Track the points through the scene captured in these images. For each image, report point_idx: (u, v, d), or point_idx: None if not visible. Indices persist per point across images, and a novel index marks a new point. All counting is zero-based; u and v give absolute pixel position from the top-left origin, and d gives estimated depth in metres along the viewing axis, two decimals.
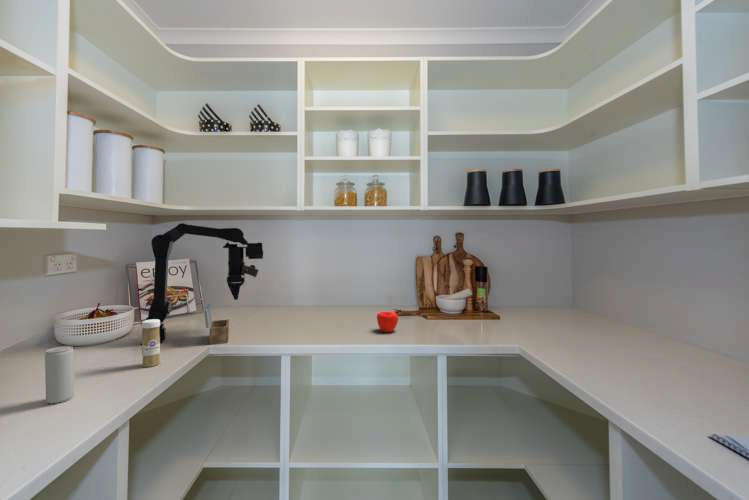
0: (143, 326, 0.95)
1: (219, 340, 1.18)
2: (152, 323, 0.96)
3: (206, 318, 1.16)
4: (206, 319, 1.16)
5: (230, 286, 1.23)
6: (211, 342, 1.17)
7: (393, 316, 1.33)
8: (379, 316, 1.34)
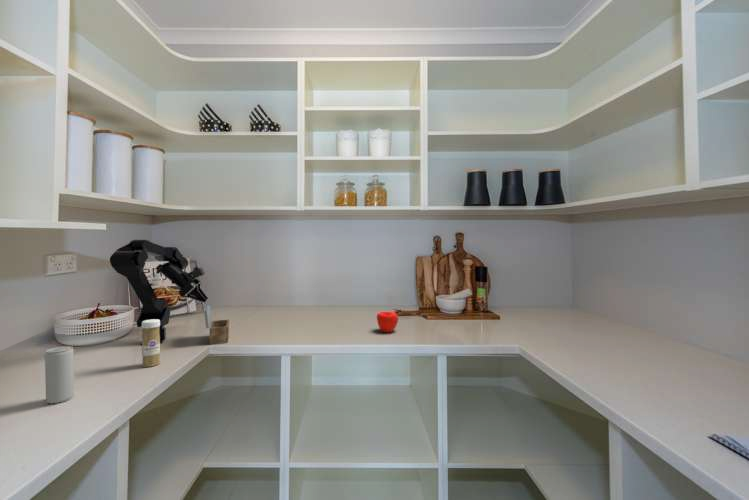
0: (143, 326, 0.95)
1: (219, 340, 1.18)
2: (152, 323, 0.96)
3: (206, 318, 1.16)
4: (206, 319, 1.16)
5: (190, 296, 1.30)
6: (211, 342, 1.17)
7: (393, 316, 1.33)
8: (379, 316, 1.34)
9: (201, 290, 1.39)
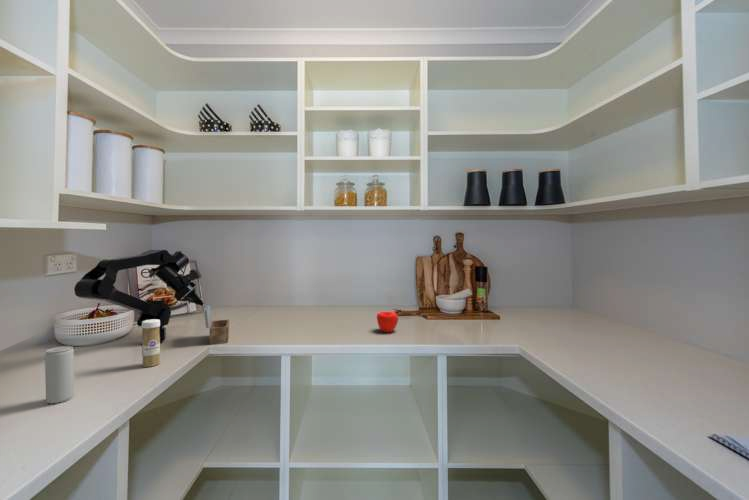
0: (143, 326, 0.95)
1: (219, 340, 1.18)
2: (152, 323, 0.96)
3: (206, 318, 1.16)
4: (206, 319, 1.16)
5: (187, 299, 1.26)
6: (211, 342, 1.17)
7: (393, 316, 1.33)
8: (379, 316, 1.34)
9: (197, 295, 1.29)
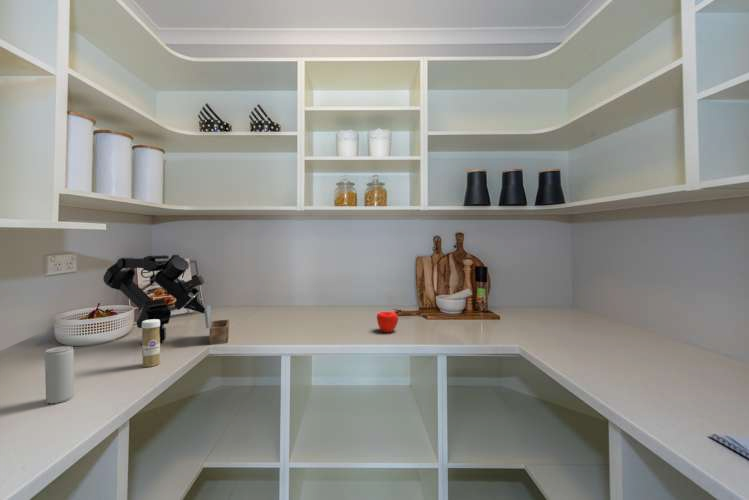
0: (143, 326, 0.95)
1: (219, 340, 1.18)
2: (152, 323, 0.96)
3: (206, 318, 1.16)
4: (206, 319, 1.16)
5: (189, 307, 1.17)
6: (211, 342, 1.17)
7: (393, 316, 1.33)
8: (379, 316, 1.34)
9: (199, 302, 1.21)
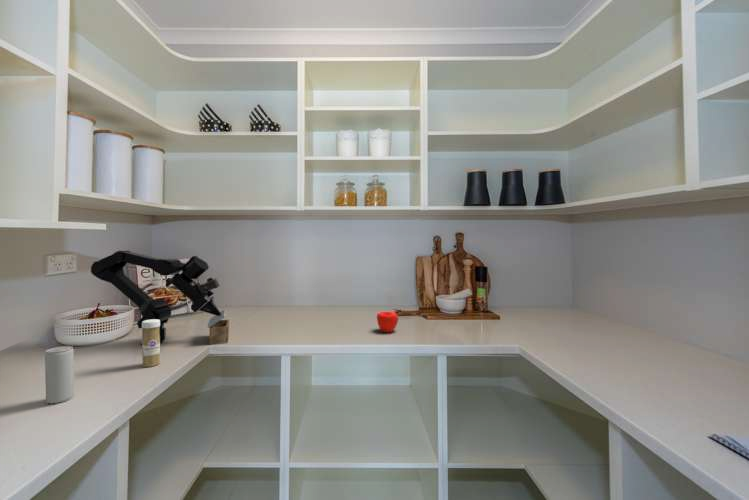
0: (143, 326, 0.95)
1: (219, 340, 1.18)
2: (152, 323, 0.96)
3: (217, 321, 1.17)
4: (216, 321, 1.17)
5: (204, 310, 1.19)
6: (211, 342, 1.17)
7: (393, 316, 1.33)
8: (379, 316, 1.34)
9: (214, 305, 1.23)
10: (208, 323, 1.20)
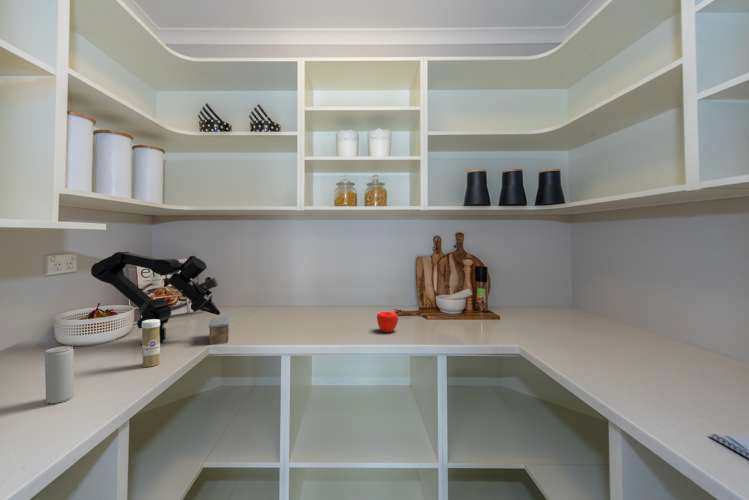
0: (143, 326, 0.95)
1: (219, 340, 1.18)
2: (152, 323, 0.96)
3: (219, 325, 1.18)
4: (218, 325, 1.17)
5: (203, 309, 1.19)
6: (211, 342, 1.17)
7: (393, 316, 1.33)
8: (379, 316, 1.34)
9: (213, 304, 1.23)
10: (209, 323, 1.20)
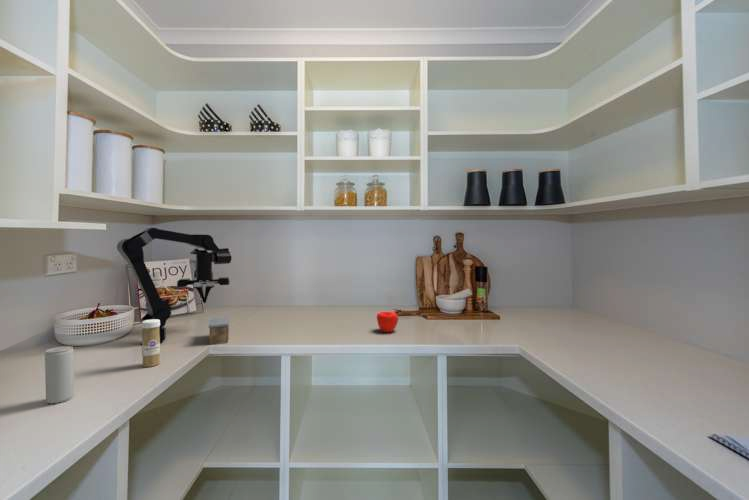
0: (143, 326, 0.95)
1: (219, 340, 1.18)
2: (152, 323, 0.96)
3: (219, 325, 1.18)
4: (218, 325, 1.17)
5: (209, 289, 1.32)
6: (211, 342, 1.17)
7: (393, 316, 1.33)
8: (379, 316, 1.34)
9: None
10: (209, 323, 1.20)
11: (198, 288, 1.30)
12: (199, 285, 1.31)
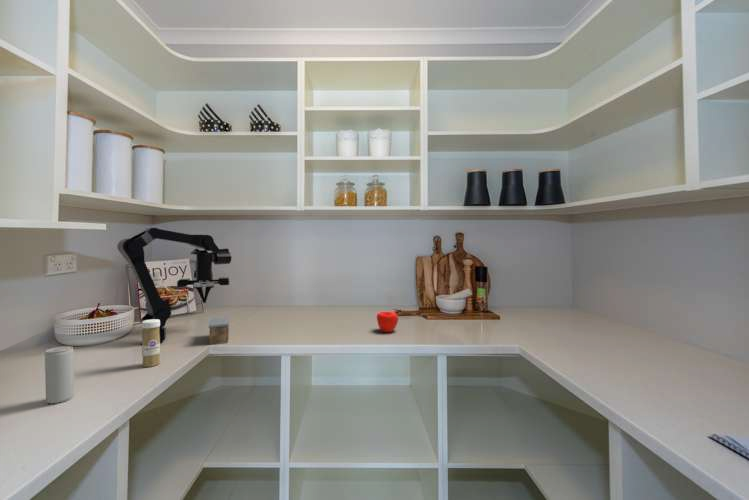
0: (143, 326, 0.95)
1: (219, 340, 1.18)
2: (152, 323, 0.96)
3: (219, 325, 1.18)
4: (218, 325, 1.17)
5: (209, 289, 1.33)
6: (211, 342, 1.17)
7: (393, 316, 1.33)
8: (379, 316, 1.34)
9: (203, 292, 1.35)
10: (209, 323, 1.20)
11: (198, 288, 1.30)
12: (199, 285, 1.31)
